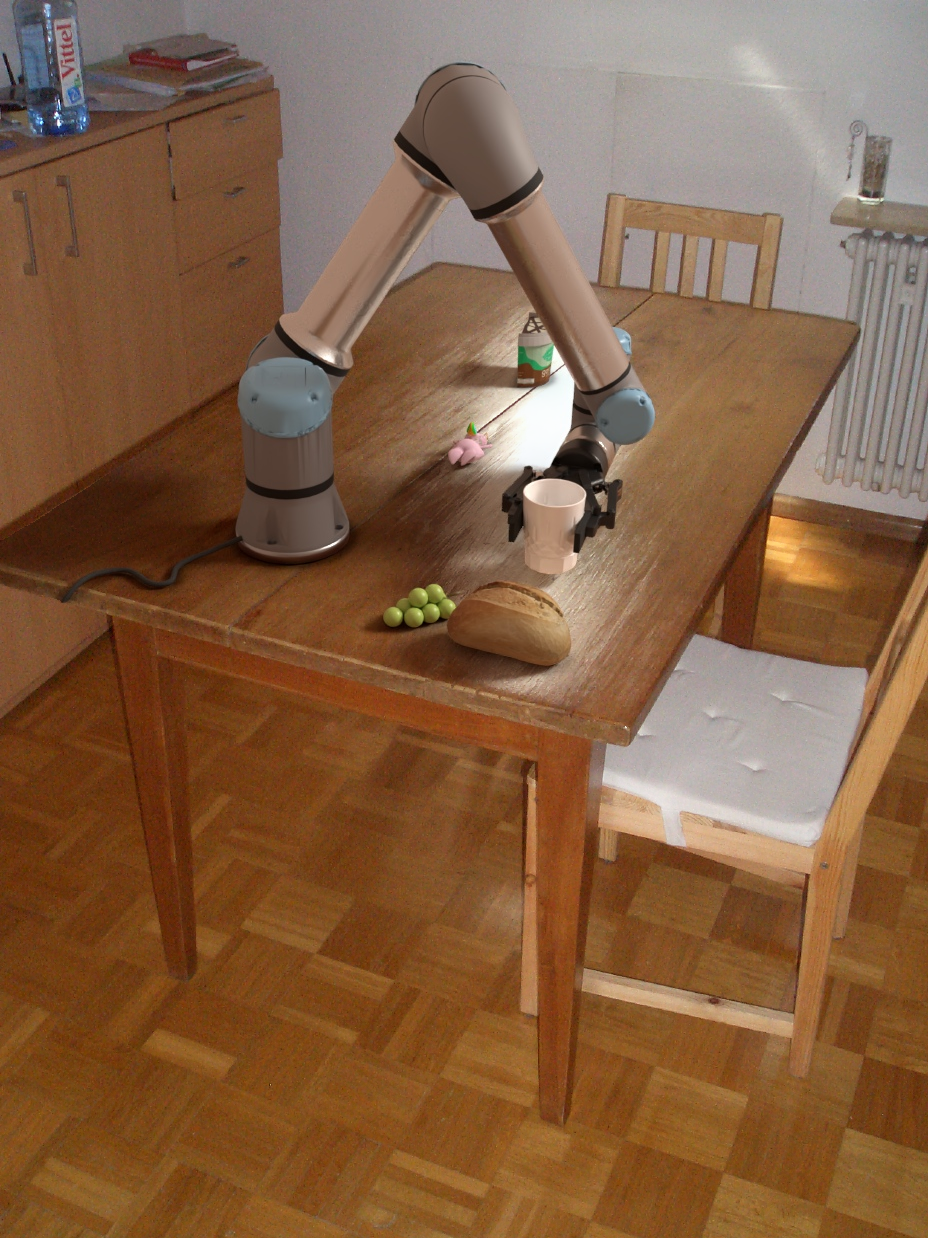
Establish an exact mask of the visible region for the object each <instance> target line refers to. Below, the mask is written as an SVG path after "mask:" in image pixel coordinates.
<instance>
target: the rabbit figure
mask: <svg viewBox="0 0 928 1238" xmlns="http://www.w3.org/2000/svg"><path fill="white" fill-rule="evenodd" d="M489 441H490V440H489V437H488V431H486V432H485V433H484V434H483V433H479V432H477V429H476V426H475V422H474V421H470V423H469V424H468V426H467V427H466V434H465V435H464V438H462V439H460V440H459V441H458V440H457V439H453V440H452V443H453V444H454V446H452V448H451V449H450V450H449V451H448V453H447V457H448V460H449V462H450V464H451V465H454V464H455V463H456V462H459V463H460V466H465V465H468V464H470V463H473V462H474V463H475V462H476V461H479V460H481V459H483V457H484V456H485V453H484V451H483V450H484V449H490V448H493V444H492V443H489V444H488V442H489Z"/></svg>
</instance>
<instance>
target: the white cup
mask: <svg viewBox="0 0 928 1238" xmlns="http://www.w3.org/2000/svg"><path fill="white" fill-rule="evenodd" d="M585 500H586V492H585V490H584V489H583V488H582V487H581V486H579V485H578V484H576V483H573V482H570V481H567V480H561V479H542V480H537V481H534V482H531V483H529V484H528V485H527V486H526V487H525V488H524V490H523V527H522V531H523V532H522V535H523V544H524V545H523V547H524V564H525V565H527V567H528V568H529V569H531V570H533V571H535V572H536V573H537V572H538V573H541V574H549V575H559V574H564V573H567V572H569V571H571V570H573V569H574V567H575V566H576V565H577V559H578V553H573V547H574V534H575V531H576V529H577V527H578V525H579V523H580V521H581V518H582V517H583V515H584V507H585Z"/></svg>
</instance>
